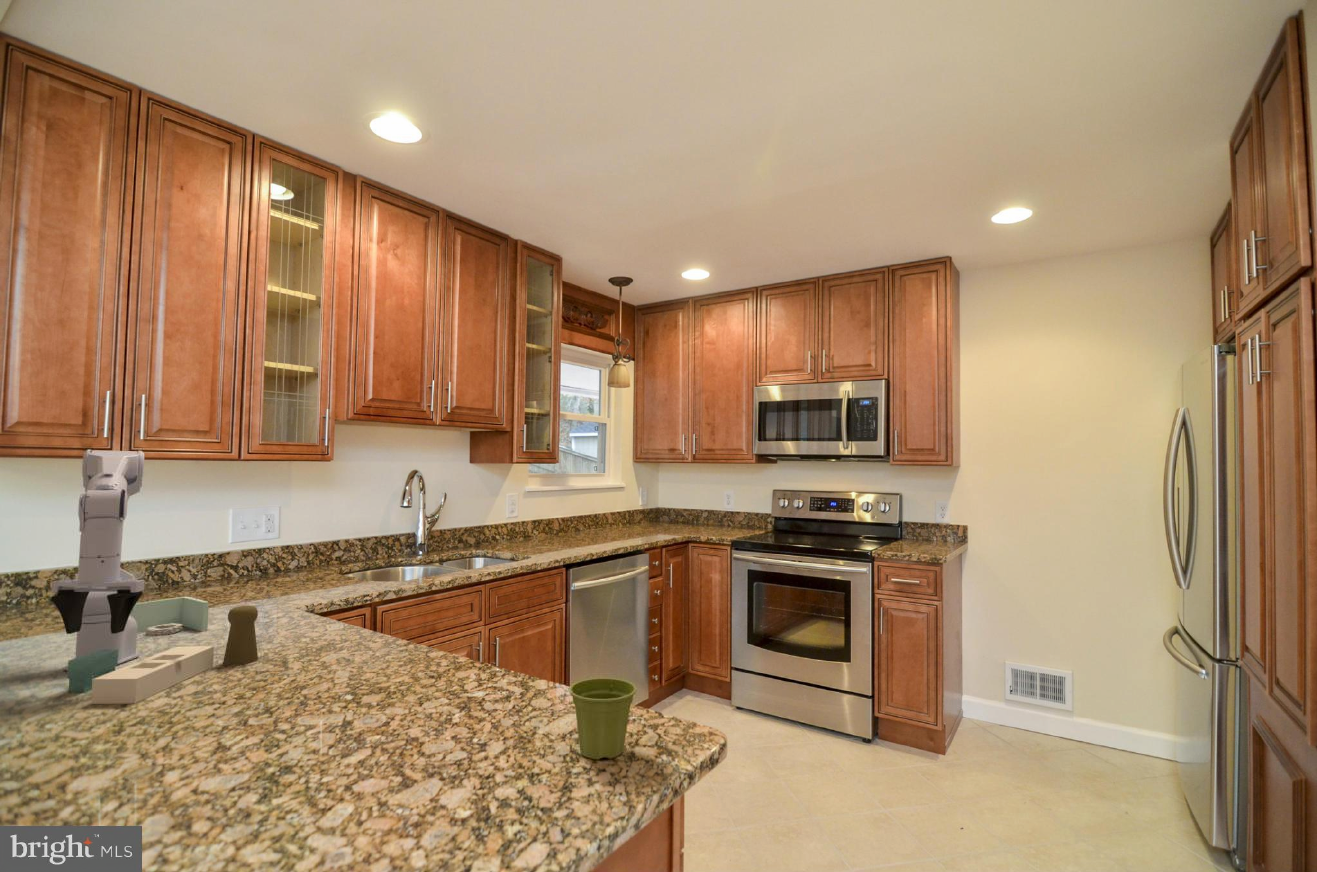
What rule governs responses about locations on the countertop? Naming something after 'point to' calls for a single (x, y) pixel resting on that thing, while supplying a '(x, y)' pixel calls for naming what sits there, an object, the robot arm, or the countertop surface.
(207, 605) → the right angle wall
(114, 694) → the rail
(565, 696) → the countertop surface
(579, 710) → the plant pot
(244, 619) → the cork
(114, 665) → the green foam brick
